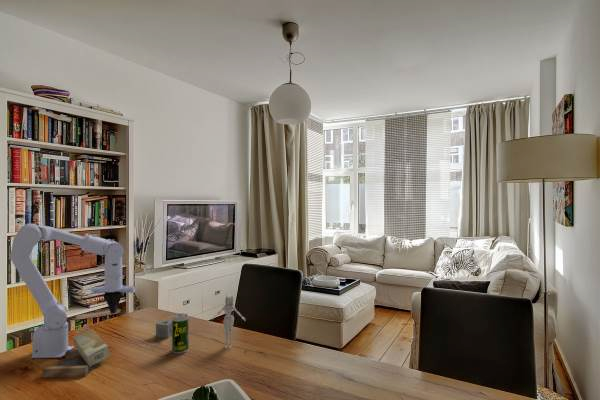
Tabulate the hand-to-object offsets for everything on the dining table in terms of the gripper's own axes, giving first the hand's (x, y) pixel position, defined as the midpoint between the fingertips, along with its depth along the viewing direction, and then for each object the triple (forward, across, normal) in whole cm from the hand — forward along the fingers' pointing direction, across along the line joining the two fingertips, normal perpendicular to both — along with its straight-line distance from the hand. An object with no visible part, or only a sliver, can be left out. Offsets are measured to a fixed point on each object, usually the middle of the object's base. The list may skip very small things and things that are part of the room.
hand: (113, 312), depth 132 cm
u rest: (+10, -3, -19) cm, 22 cm away
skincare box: (+8, +4, -19) cm, 21 cm away
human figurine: (+11, +42, -7) cm, 44 cm away
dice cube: (+11, +17, +5) cm, 21 cm away
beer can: (+11, +26, -9) cm, 29 cm away
